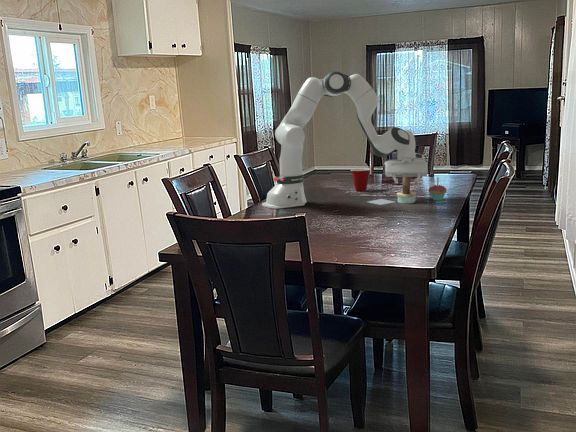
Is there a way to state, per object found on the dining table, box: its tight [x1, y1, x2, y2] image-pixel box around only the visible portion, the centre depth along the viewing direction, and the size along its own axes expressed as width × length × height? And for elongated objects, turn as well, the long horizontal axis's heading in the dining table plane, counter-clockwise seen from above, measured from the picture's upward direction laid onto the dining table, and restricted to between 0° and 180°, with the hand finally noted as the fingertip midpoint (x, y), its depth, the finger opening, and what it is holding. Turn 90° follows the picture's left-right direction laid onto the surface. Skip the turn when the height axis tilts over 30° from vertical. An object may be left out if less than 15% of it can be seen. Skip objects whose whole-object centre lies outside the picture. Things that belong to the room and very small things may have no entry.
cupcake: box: [428, 176, 448, 201], centre depth 277 cm, size 9×8×12 cm
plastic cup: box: [350, 168, 371, 192], centre depth 308 cm, size 11×11×12 cm
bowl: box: [397, 196, 416, 204], centre depth 275 cm, size 8×8×4 cm
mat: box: [367, 198, 396, 206], centre depth 277 cm, size 10×10×1 cm
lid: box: [396, 176, 417, 197], centre depth 273 cm, size 9×9×9 cm
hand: (406, 182), depth 272 cm, fingers open, 8 cm apart
